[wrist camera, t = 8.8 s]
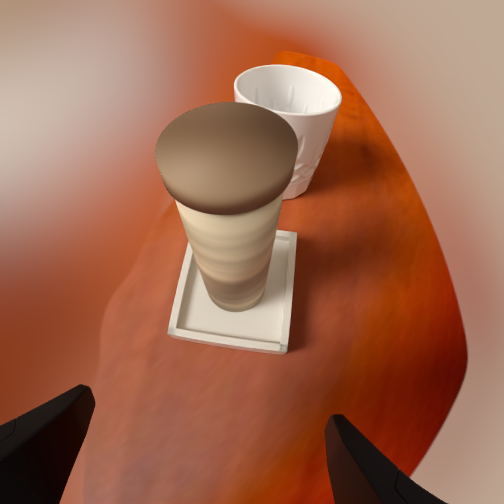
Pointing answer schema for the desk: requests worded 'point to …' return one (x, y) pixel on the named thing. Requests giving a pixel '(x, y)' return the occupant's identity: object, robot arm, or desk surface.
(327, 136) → the white cup
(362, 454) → the robot arm
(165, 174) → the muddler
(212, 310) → the tray
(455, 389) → the desk surface
